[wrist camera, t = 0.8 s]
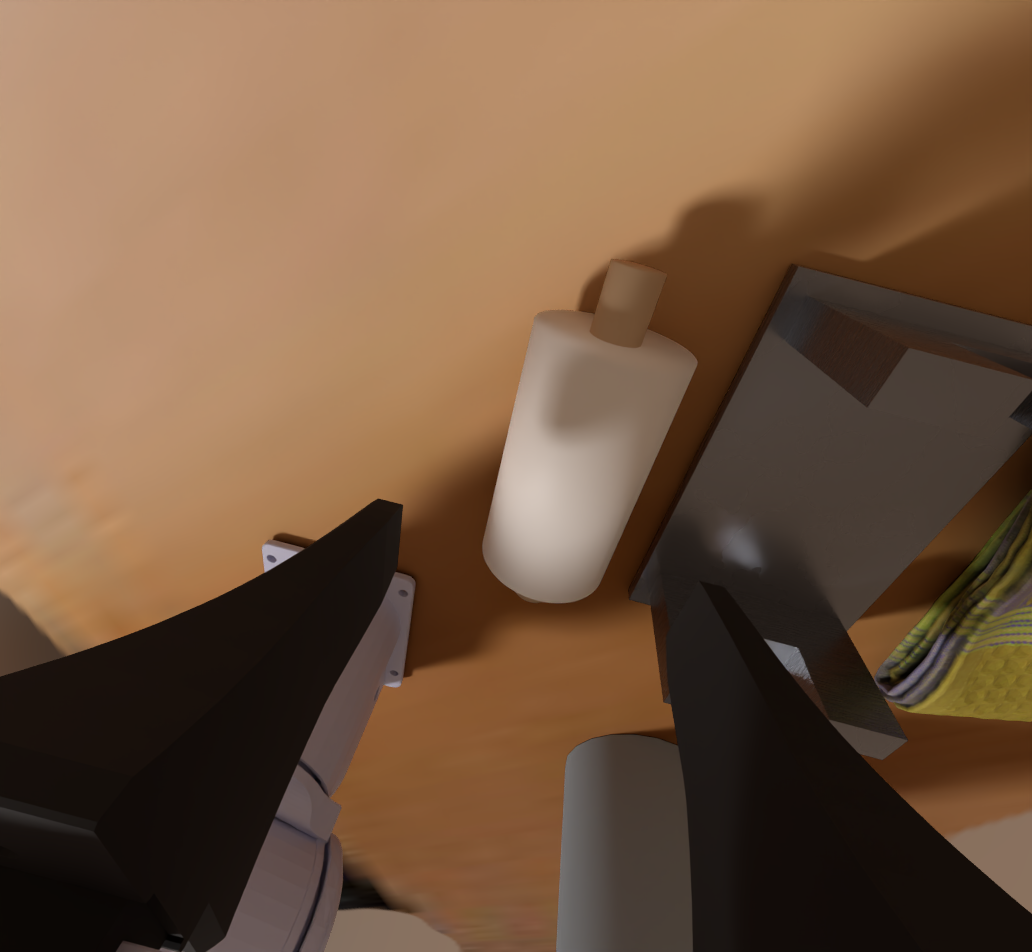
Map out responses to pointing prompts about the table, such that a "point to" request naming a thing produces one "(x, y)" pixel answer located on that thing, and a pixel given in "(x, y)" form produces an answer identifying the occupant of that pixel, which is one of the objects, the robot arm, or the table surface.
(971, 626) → the dish towel
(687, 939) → the spray bottle
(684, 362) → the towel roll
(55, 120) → the table surface
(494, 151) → the table surface
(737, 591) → the roll holder
